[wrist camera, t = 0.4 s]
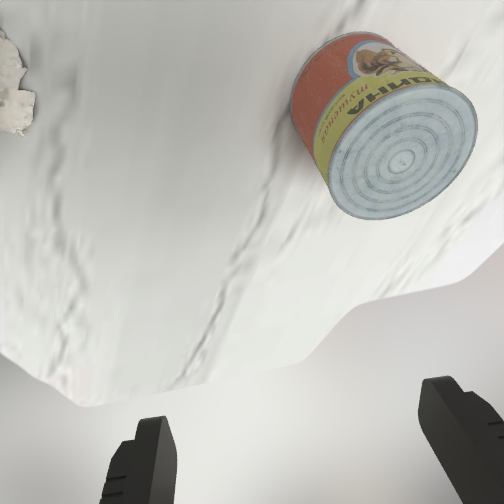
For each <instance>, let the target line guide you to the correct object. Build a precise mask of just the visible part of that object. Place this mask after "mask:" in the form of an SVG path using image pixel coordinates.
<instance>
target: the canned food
mask: <svg viewBox="0 0 504 504" xmlns="http://www.w3.org/2000/svg"><path fill="white" fill-rule="evenodd" d="M290 112H291V117H292V121H293V124H294V126H295V128H296V130H297V132H298V133H299V135H300V136H301V137H302V139H303V141H304V143H305V145H306V147H307V149H308V151H309V152H310V154H311V156H312V158H313V160H314V162H315V164H316V166H317V167H318V169H319V171H320V173H321V175H322V177H323V179H324V180H325V182H326V184H327V186H328V188H329V191H330V194H331V196H332V198H333V200H334V201H335V203H336V204H337V206H338V207H339V208H340V209H341V210H343V211H344V212H345V213H347V214H349V215H351V216H353V217H356V218H360V219H365V220H384V219H390V218H394V217H398V216H401V215H404V214H407V213H409V212H412V211H414V210H416V209H418V208H420V207H421V206H423V205H425V204H426V203H428V202H430V201H431V200H432V199H434V198H435V197H437V196H438V195H439V194H440V193H441V192H443V191H444V190H445V189H446V188H447V187H448V186H449V185H450V184H451V183H452V182H453V181H454V180H455V178H456V177H457V176H458V175H459V173H460V172H461V171H462V169H463V168H464V166H465V165H466V163H467V161H468V159H469V158H470V155H471V153H472V151H473V148H474V146H475V142H476V138H477V132H478V120H477V115H476V111H475V109H474V106H473V105H472V103H471V101H470V100H469V99H468V98H467V97H466V96H465V95H464V94H463V93H461V92H460V91H458V90H457V89H455V88H452V87H450V86H449V85H447V84H446V83H444V82H443V81H442V80H440V79H439V78H437V77H436V76H435V75H433V74H432V73H431V72H429V71H428V70H426V69H425V68H424V67H422V66H421V65H419V64H418V63H417V62H415V61H414V60H412V59H411V58H410V57H408V56H407V55H405V54H404V53H403V52H401V51H400V50H398V49H397V48H396V47H394V45H393V44H392V43H391V42H389V41H388V40H387V39H385V38H384V37H382V36H380V35H378V34H374V33H370V32H352V33H347V34H344V35H341V36H338V37H336V38H334V39H332V40H330V41H329V42H327V43H325V44H324V45H323V46H321V47H320V48H319V49H318V50H317V51H315V52H314V53H313V54H312V55H311V56H310V58H309V59H308V60H307V61H306V63H305V64H304V65H303V67H302V68H301V70H300V72H299V74H298V76H297V78H296V80H295V83H294V85H293V89H292V93H291V99H290Z"/></svg>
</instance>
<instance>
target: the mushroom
mask: <svg viewBox="0 0 504 504" xmlns="http://www.w3.org/2000/svg"><path fill="white" fill-rule="evenodd" d="M21 65H22V62H21V60H20V57H19V52H18V49H17V47H16V45H15V44H14V43H12V42H11V41H10V40H8V39H5V33H4V32H3V31H1V30H0V132H10V133H12V134H15V133H16V132H18V133H19V134H20V135H21V136H22V137H24V136H25V134H24V133H23V132H22V130H23V129H25V128H26V127H27V126H28V125H31V124H32V120H33V107H34V103H35V97H36V94H35V93H34V92H30V91H26V90H23V91H22V90H19V91H18V88H19V83H20V79H21V78H22V76H23V75H24V74H25V72H26V71H27V68H26V67H25V68H22V66H23V65H22V66H21Z"/></svg>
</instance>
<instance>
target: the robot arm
mask: <svg viewBox="0 0 504 504" xmlns="http://www.w3.org/2000/svg"><path fill="white" fill-rule="evenodd" d="M418 418H419V423H420V426H421V429H422V431H423V433H424V435H425V436H426V438H427V440H428V442H429V443H430V445H431V447H432V449H433V451H434V453H435V454H436V456H437V458H438V460H439V461H440V463H441V465H442V467H443V468H444V470H445V472H446V474H447V476H448V478H449V479H450V481H451V483H452V485H453V486H454V488H455V490H456V492H457V493H458V495H459V497H460V499H461V501H462V502H463V504H504V421H503V419H502V418H501V417H500V416H499V414H498V413H497V412H496V411H495V410H494V408H493V407H492V406H491V405H490V404H489V403H488V402H486V401H485V400H484V399H482V398H481V397H479V396H478V395H477V394H475V393H474V392H473V391H471V392H463V390H462V389H461V388H460V386H459V385H458V384H457V382H456V381H455V380H454V379H453V378H452V377H451V376H443V377H435V378H428V379H424V380H423V382H422V388H421V395H420V401H419V408H418ZM176 474H177V452H176V446H175V443H174V440H173V436H172V433H171V430H170V427H169V424H168V420H167V418H166V416H159V417H153V418H145V419H141V420H140V421H139V423H138V427H137V431H136V435H135V440H129V441H123V442H122V443H121V445H120V446H119V448H118V449H117V451H116V452H115V454H114V456H113V457H112V459H111V462H110V465H109V469H108V473H107V477H106V483H105V484H104V488H103V492H102V499H100V503H99V504H174V494H175V484H176Z"/></svg>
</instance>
